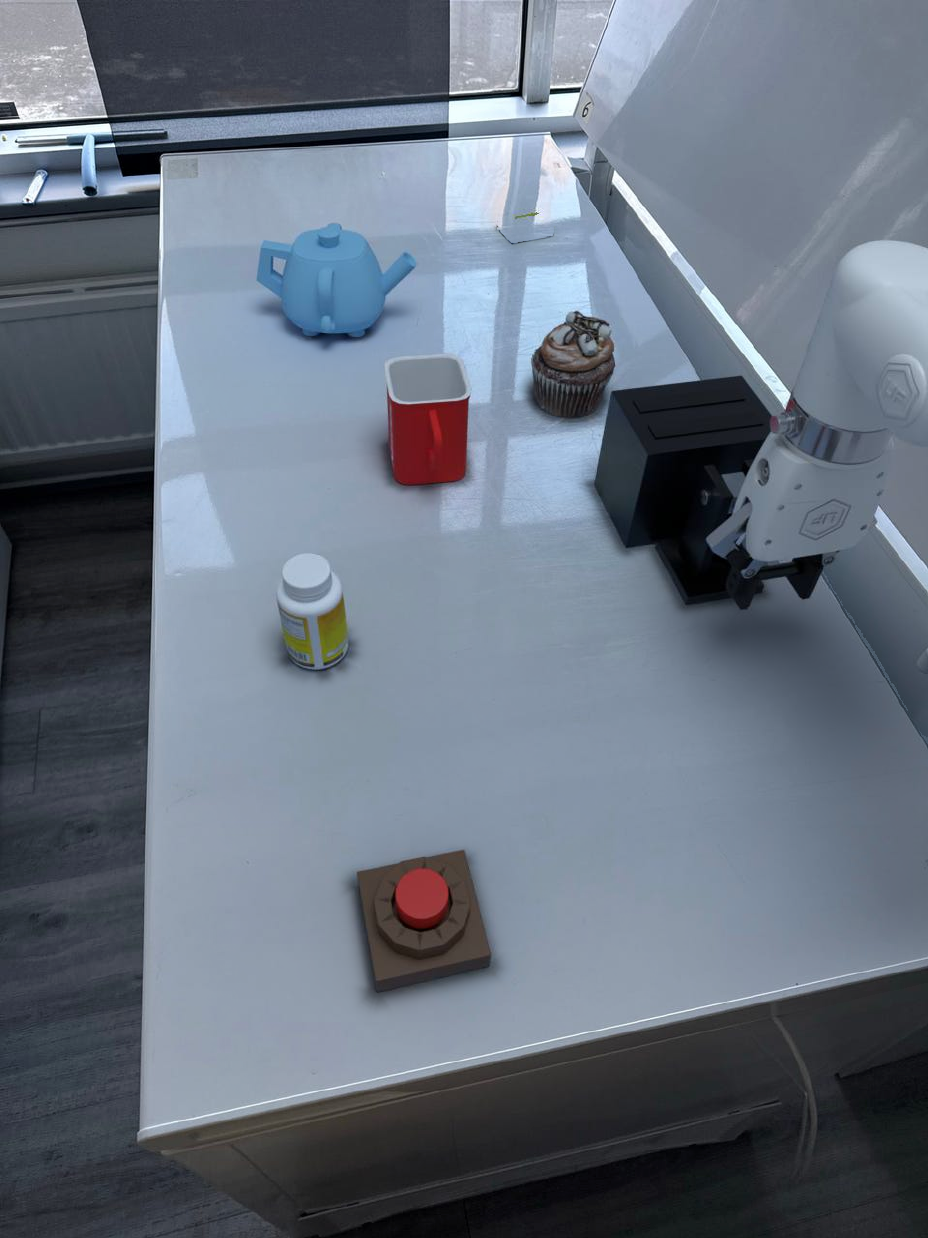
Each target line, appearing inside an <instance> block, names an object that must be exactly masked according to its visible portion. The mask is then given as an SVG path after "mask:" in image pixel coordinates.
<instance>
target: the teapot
mask: <svg viewBox="0 0 928 1238" xmlns="http://www.w3.org/2000/svg"><path fill="white" fill-rule="evenodd" d="M342 227H343V226H342V225H341V223H339V222H331V223H328V224H327V226H323V227H320V228H317V229H311V230H306V231H303V232H301V233H300V234H299V235H297V236H296V238H295V239H294V241H293V243H292V244H290V243H286V242H285V243H284V242H278V241H272V240H266V239H263V241H262V243H261V246H260V251H259V259H258V266H257V273H256V282H258V283H259V284H260V285H262V286H264V287H265V288H266V289H268V290H269V291H270V292H272V294H274V295H275V296H277V297H278V298H280V300H281V308H282V311H283V312H284V314H285V316H286V317H287V319H289V320H290V321H291V322H292V323H293V324H294V325H295V326H297V327H298V328H301V329H302V330H301V332H302V334H303V335H305V336H307V337H316V336H318V335H320V333H324V334H345V333H346V334H347V335H348V336H349V337H352V338H360V337H363V336H364V335H365V334H366V329H368V328H370V327H371V326H372V325H374V324H375V322H376V321H377V320H378V318H379V317H380V315H381V314H382V311H383V309H384V307H385V303H386V296H387V295H388V294H390V293H391V291H392V290H393V289H395V288H396V287H397V286H398V285H399V284H400V283H401V282H402V281H403V280H404V279H405V278H406V277H407V276H408V275H409V274H411V272H412V271H413V270H414V269H416V268H417V266H418V263H417V260H416V258H415V257H414V256H413V255H412V254H410V252H407V251H404V252H403V253H401V255H400V256H399V257H398V258H397V259H396V260H395V261H394V262H393V263H392V264H391V265H390V266H389V268H387V270H385V272H384V273H383V271H382V269H381V266H380V263H379V260H378V258H377V256H376V254H375V253H374V250H373V249H372V247H371V245H370V243H369V242H368V241H367V239H366V238H365V236H364V235H362V234H361V233H359V232H357V231H353V230H349V229H348V230H347V229H342ZM274 258H276V259H280V260H285V264H284V267H283V271H282V274H281V273H279V272H278V271H276V270H275V269H274Z"/></svg>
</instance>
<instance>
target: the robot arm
mask: <svg viewBox="0 0 928 1238" xmlns="http://www.w3.org/2000/svg"><path fill="white" fill-rule="evenodd" d="M803 356H804V357H803V359H802V362H801V365H800V368H799V371H798V373H797V376H796V379H795V382H794V384H793V387H792V389H791V392H790V395H789V398H788V401H787V403H786V407H785V409H784V412H781V413H780V414H777V415H772V417H771V420H770V429H771V432H770V434H769V435H768V437H767V438H766V440H765V442H764V443H763V445H762V447H761V449H760V450H759V452H758V454H757V456H756V458H755V460H754V461H753V463H752V465H751V467H750V470H749V472H748V474H747V476H746V478H745V481H744V483H743V485H742V487H741V490H740V493H739V495H738V498H737V501H736V504H735V507H734V510H733V514H732V516H731V517H730V518H729V519H727V520H726V521H725V522H724V523H723V524H722V525H720V526H719V527H718V528H717V529H716V530H715V531H713V532H712V533H711V534H710V535H709V536H708V537H707V538H706V542H707V543H708V545H709V547H710V548H711V550H712V551H713V552H714V553H715V554H717V555H719V556H720V557H722V558H725V559H727V560H728V562H729V563H730V564H731V565H732V567H731V570H730V573H729V575H728V578H727V581H726V590H727V592H728V594H729V596H730V597H729V598H732V599H733V601H734V602H735V604H736V606H737V608H738V609H739V610H740V611H745V610H748V609H749V608H750V606H751V604H752V601H753V599H754V596H755V594H756V593H755V591H756V589H757V586H758V584H759V581H760V577H759V575H758V574H757V572H758V570H759V569H760V568H761V566H762V565H763V564H764V562H765V561H777V560H778V561H785V560H790V559H791V562H792V561H799V560H800V561H802V562H803V564H804V572H803V573H802V574H799V575H793V576H787V577H786V579H787V581H788V582H789V584H790V585H791V587H792V588H793V590H794V591H795V593H796V594H797V596H798V597H799V599H801V600H802V601H803V600H810V598H811V597H812V594H813V592H814V590H815V588H816V586H817V583H818V582H819V579H820V577H821V575H822V573H823V571H824V569H825V568H824V567H826V566H829V565H832V564H833V563H834V562H835V561H836V559H837V553H839V552H840V551H843V550H847V549H850V548H853V547H855V546H856V545H859V544H860V543H861V542H862V540H863V539H864V537H865V536H866V534H867V532H868V531H869V530H870V529H872V528H874V527H875V526H876V525H877V524H878V519H877V518H876V516H875V515H876V513H877V510H878V508H879V505H880V503H881V500H882V498H883V495H884V492H885V490H886V486H887V484H888V480H889V477H890V473H891V467H892V463H893V458H894V451H895V442H894V439H893V438H892V436H893V435H894V436H895V437H896V438H898V439H899V440H900V441H902V442H904V443H906V444H908V445H911V446H916V447H921V448H928V248H927V247H925V246H922V245H920V244H916V243H911V242H908V241H902V240H892V239H880V240H879V239H878V240H873V241H868V242H865V243H862V244H859V245H857V246H855V247H853V248H852V249H850V250H849V251H848V252H847V253H845V255H844V256H842V258H841V259H840V261H839V263H838V264H837V266H836V268H835V270H834V273H833V275H832V278H831V280H830V283H829V286H828V289H827V292H826V295H825V297H824V300H823V303H822V306H821V309H820V312H819V314H818V318H817V320H816V323H815V326H814V329H813V331H812V335H811V337H810V340H809V342H808V345H807V347H806V350H805V354H804V355H803ZM738 538H739V539H738ZM737 539H738V540H737ZM735 540H737V541H736V543H735V542H734V541H735ZM747 551H748V553H749V554H750V556H749V554H748V553H747Z"/></svg>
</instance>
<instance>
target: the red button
mask: <svg viewBox="0 0 928 1238" xmlns="http://www.w3.org/2000/svg"><path fill="white" fill-rule="evenodd" d="M448 895H449V893H448V887H447V884H446V882H445V880H444V879H443V878H442V876H441V875H439V874H438V873H437V872H435V871H433V870H430V869H424V868H420V869H415V870H412V871H410V872H408V873H406V874H405V875H404V876H403V877H402V878H401V879H400V881H399V882H398V884H397V887H396V892H395V898H396V909H397V912H398V915H399V917H400V918H401V919H402V921H403V922H405V923H406V924H407V925H409V926H411V927H414V928H419V929H425V928H429V927H432V926H434V925H436V924H438V923H439V922H440V921H441V920H442V919H443V917H444V916H445V914H446V912H447V908H448Z"/></svg>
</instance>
